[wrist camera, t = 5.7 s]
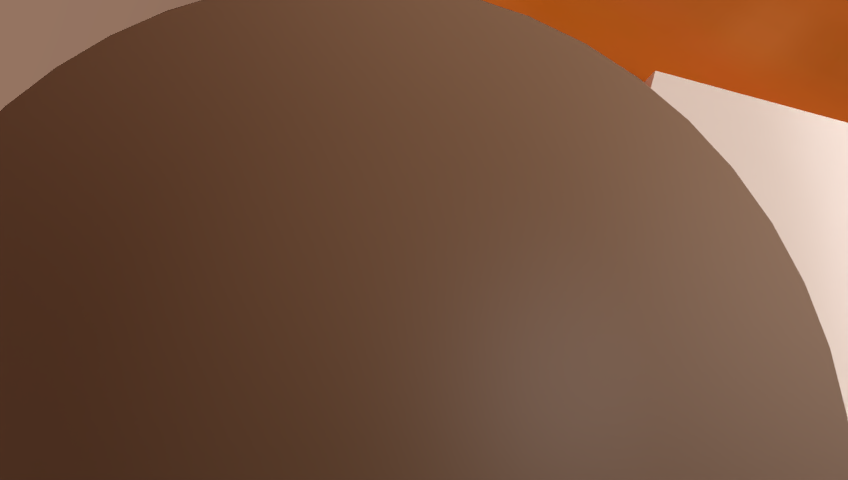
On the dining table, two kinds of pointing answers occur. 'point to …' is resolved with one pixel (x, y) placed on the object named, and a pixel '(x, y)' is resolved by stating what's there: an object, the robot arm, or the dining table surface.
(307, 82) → the walnut roller
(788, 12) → the dining table surface
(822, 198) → the stone slab
